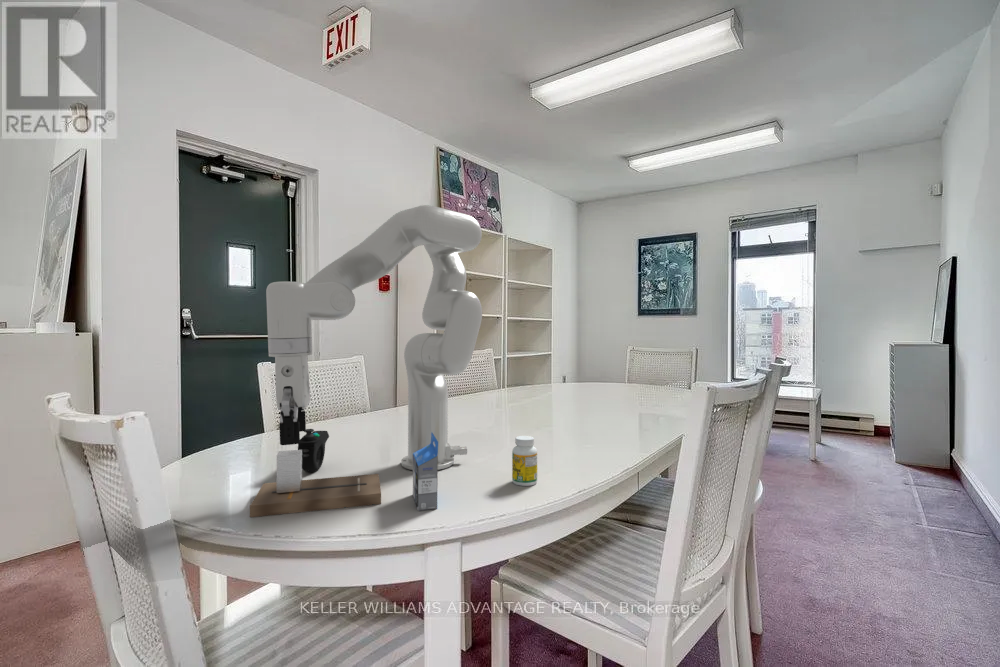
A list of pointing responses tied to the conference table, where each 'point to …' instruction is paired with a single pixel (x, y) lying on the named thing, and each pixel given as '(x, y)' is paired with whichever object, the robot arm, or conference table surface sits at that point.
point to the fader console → (318, 495)
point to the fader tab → (289, 471)
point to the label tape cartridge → (426, 476)
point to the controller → (313, 449)
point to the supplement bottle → (524, 461)
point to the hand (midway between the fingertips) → (293, 437)
